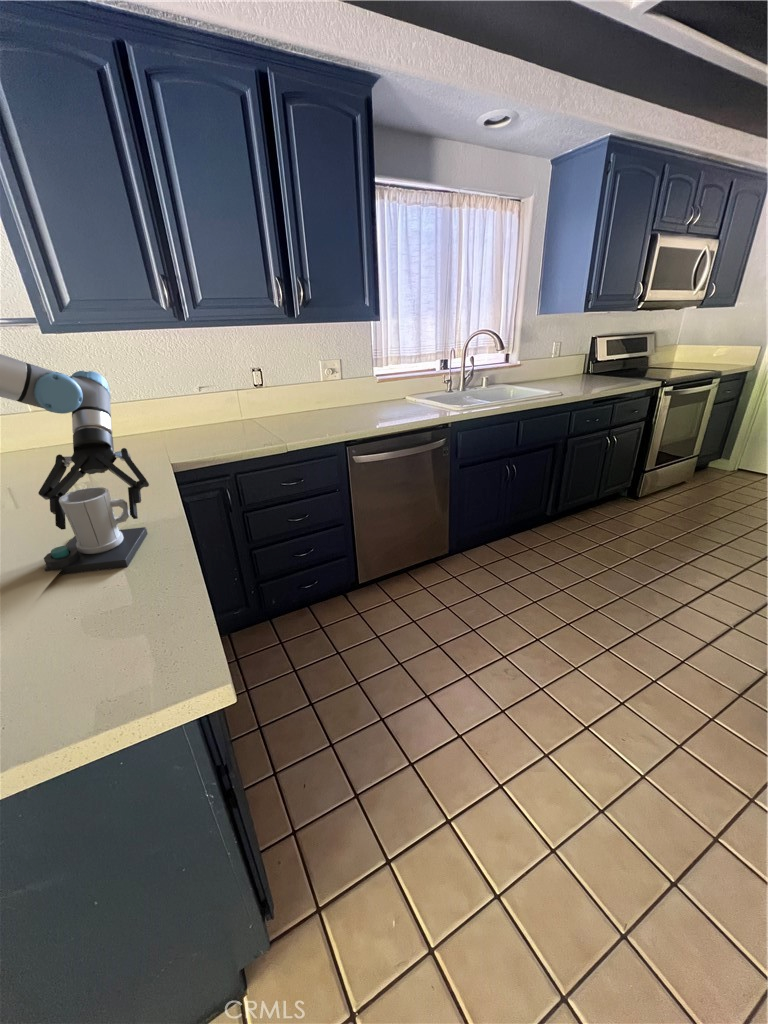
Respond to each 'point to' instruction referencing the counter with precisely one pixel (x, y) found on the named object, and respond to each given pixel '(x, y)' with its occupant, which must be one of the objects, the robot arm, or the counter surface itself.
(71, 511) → the cup
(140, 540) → the scale
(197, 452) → the counter surface
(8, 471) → the counter surface
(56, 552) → the scale button
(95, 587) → the counter surface
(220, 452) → the counter surface
